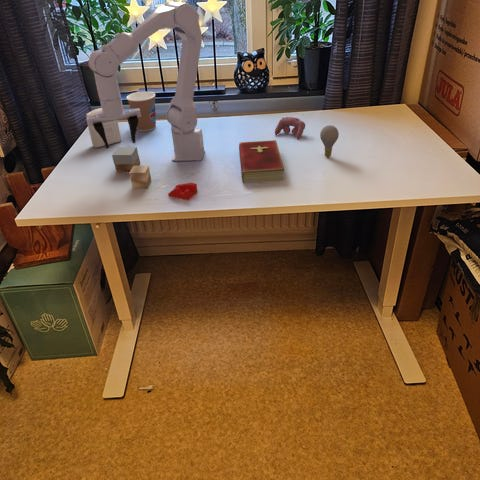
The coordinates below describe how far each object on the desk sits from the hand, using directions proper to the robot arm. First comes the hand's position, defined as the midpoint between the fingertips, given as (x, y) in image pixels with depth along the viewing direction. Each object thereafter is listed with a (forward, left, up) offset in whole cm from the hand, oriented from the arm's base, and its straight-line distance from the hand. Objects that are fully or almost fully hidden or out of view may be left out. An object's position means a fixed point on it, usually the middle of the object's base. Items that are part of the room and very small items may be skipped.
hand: (120, 144), depth 129 cm
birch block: (-6, +7, -10) cm, 13 cm away
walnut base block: (+1, -4, -10) cm, 11 cm away
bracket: (-19, +13, -10) cm, 25 cm away
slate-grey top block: (+1, -4, -7) cm, 8 cm away
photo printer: (+14, -24, -10) cm, 30 cm away
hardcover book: (-40, -4, -10) cm, 42 cm away
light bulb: (-61, -9, -10) cm, 63 cm away
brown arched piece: (-50, -28, -10) cm, 58 cm away
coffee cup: (+3, -38, -10) cm, 40 cm away
